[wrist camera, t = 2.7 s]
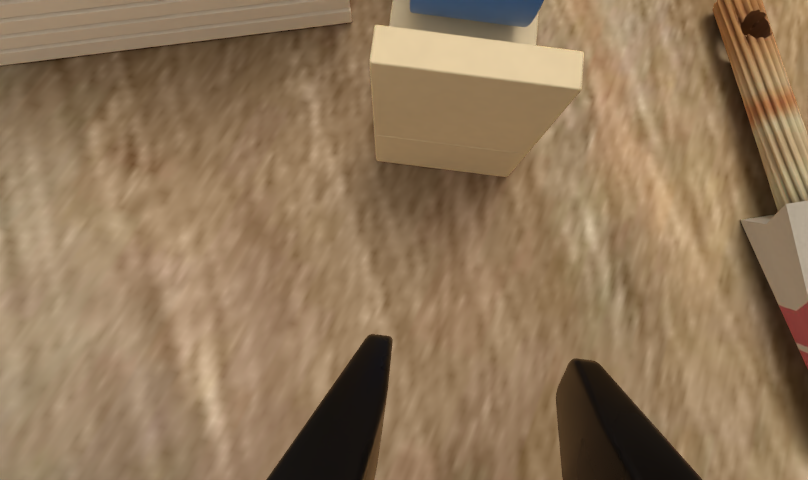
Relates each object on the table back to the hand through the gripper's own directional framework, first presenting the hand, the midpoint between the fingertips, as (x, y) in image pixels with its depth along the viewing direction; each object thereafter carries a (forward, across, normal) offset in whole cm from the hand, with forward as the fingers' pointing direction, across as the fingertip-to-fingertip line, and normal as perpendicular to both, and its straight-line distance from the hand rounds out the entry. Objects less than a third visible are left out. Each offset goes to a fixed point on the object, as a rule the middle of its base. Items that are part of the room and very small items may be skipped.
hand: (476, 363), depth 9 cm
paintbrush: (+14, -15, +4) cm, 21 cm away
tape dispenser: (+19, 0, -1) cm, 19 cm away
